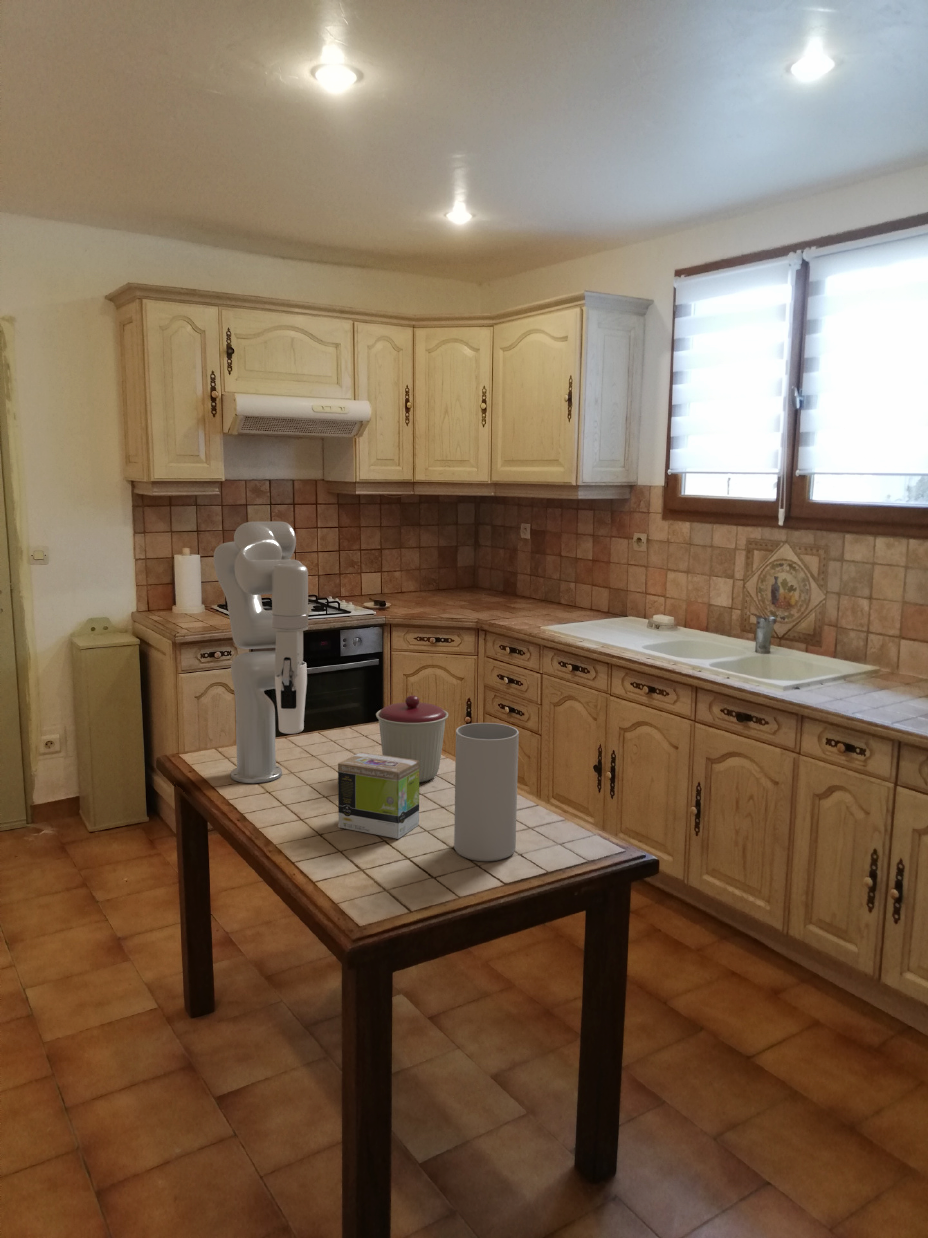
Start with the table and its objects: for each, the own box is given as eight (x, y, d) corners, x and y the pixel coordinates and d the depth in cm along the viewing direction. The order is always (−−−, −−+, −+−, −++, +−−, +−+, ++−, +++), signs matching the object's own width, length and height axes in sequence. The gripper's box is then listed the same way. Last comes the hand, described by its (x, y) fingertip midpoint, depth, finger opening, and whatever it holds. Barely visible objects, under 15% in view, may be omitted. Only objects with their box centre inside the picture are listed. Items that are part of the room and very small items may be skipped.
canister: (434, 763, 240) (435, 685, 236) (457, 784, 223) (458, 701, 220) (367, 769, 233) (368, 690, 230) (386, 792, 216) (387, 707, 213)
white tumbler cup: (300, 736, 191) (299, 667, 189) (270, 734, 193) (269, 665, 190) (311, 728, 198) (311, 661, 196) (282, 725, 199) (282, 659, 197)
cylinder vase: (455, 837, 190) (457, 722, 186) (514, 839, 189) (517, 723, 186) (452, 862, 177) (454, 739, 174) (516, 864, 177) (519, 740, 173)
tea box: (420, 825, 196) (421, 759, 194) (398, 841, 187) (398, 772, 185) (361, 813, 203) (361, 749, 200) (336, 828, 194) (336, 762, 191)
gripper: (278, 615, 200) (279, 694, 203) (265, 629, 183) (266, 714, 186) (312, 615, 200) (313, 694, 203) (303, 629, 183) (303, 715, 186)
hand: (291, 703), depth 194 cm, fingers closed on white tumbler cup, 6 cm apart
